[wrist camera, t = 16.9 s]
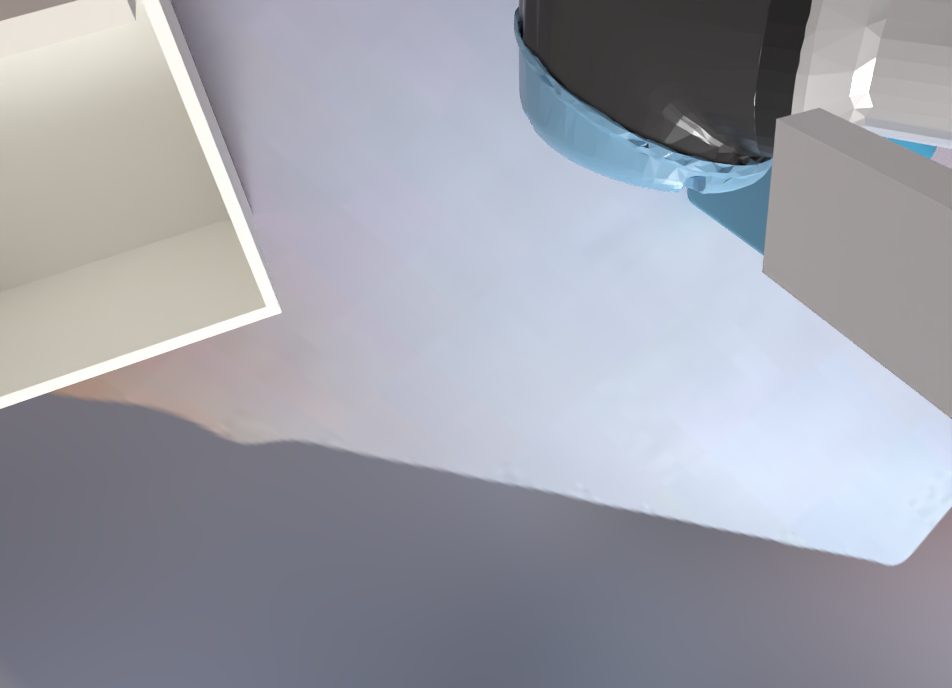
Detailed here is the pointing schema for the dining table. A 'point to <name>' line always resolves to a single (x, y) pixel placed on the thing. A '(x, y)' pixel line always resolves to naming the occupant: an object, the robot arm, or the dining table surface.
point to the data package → (758, 203)
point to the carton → (117, 209)
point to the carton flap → (57, 21)
